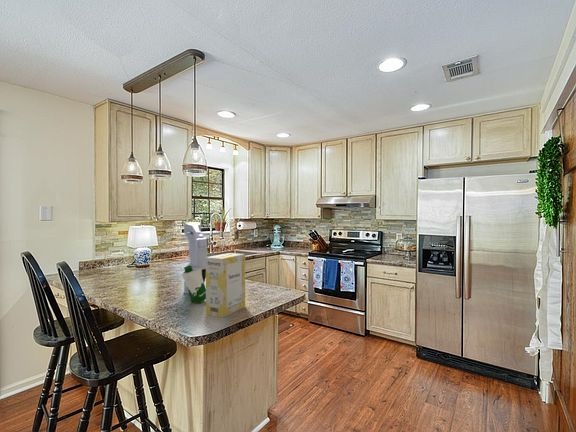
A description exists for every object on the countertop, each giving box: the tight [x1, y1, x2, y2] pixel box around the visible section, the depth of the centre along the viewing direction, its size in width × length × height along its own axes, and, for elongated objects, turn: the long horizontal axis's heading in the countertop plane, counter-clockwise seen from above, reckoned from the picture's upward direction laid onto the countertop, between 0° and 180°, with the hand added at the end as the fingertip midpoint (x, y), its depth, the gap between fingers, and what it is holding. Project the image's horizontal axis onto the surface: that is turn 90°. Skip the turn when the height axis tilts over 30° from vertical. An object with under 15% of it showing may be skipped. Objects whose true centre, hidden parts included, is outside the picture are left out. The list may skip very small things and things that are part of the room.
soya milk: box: [181, 265, 206, 305], centre depth 164 cm, size 9×9×20 cm
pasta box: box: [205, 252, 246, 318], centre depth 151 cm, size 18×10×28 cm, turn 152°
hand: (202, 283), depth 168 cm, fingers closed, pressing on soya milk
